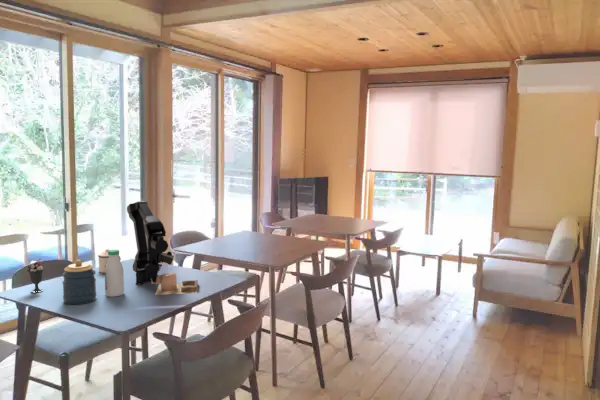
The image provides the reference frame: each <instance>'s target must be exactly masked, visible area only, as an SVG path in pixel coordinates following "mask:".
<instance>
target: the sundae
mask: <svg viewBox="0 0 600 400" xmlns="http://www.w3.org/2000/svg"><path fill="white" fill-rule="evenodd" d="M40 261H41V259H38V260H37V261H36V262H34V263H33V264H31V266H30V265H27V268H28V269H27V270H26V271H27V272H28V274H29V277H30V278H29V279H30V282H31V284H34V289H33V290H32V291H35V292H36V291H37V292H38V291H41V290H42V289H41V290H40V288H39V284H40V283H41V282H42V279H43V272H44V271H45V268H44V267H43V266H42V263H40Z"/></svg>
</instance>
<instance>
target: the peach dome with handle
mask: <svg viewBox="0 0 600 400" xmlns="http://www.w3.org/2000/svg"><path fill="white" fill-rule="evenodd" d="M150 282H151V283H150V284H151V285H155V284H156V285H157V284H161V290H163V291H171V290H175V289H177V283H178V281H177V273H176V272H163V273H162V274H158V275H157V279H156V283H153V281H152V279H151V281H150Z"/></svg>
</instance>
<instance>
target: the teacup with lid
mask: <svg viewBox="0 0 600 400" xmlns="http://www.w3.org/2000/svg"><path fill="white" fill-rule="evenodd" d="M109 250H110V249H109V248H106V249H105V250H104V251H102V252H100V253H98V255H97V257H98V272H99V273H101V274H105V267H106V264H107V262H108V259H109V256H108V251H109ZM119 259H120V261H121V260H122V259H121V256H120V255H119Z"/></svg>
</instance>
